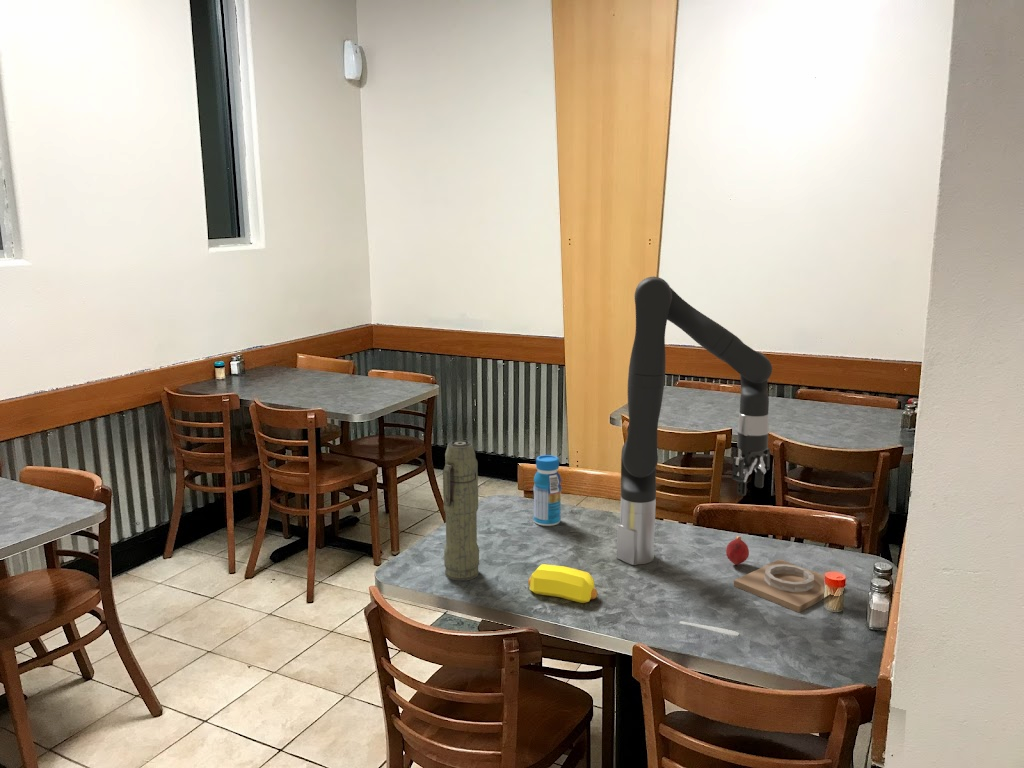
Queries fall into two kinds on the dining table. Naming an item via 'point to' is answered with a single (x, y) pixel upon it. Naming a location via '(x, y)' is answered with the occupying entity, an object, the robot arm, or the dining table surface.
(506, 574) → the dining table surface
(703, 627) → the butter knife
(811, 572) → the mount board
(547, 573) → the low-poly banana
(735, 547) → the onion
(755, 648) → the dining table surface
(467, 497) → the thermos
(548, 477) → the beverage bottle
